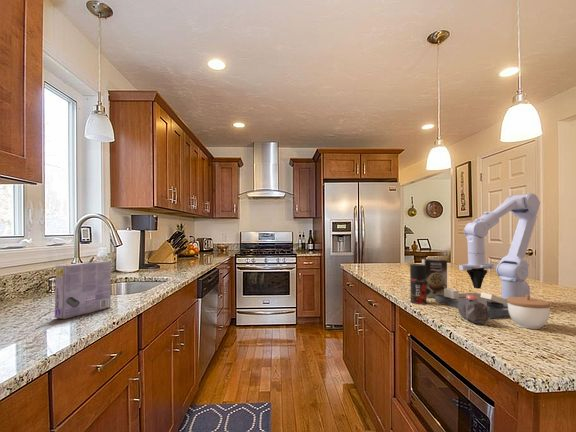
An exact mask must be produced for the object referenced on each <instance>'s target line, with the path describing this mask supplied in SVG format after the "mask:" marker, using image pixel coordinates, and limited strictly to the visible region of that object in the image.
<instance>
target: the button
mask: <svg viewBox="0 0 576 432" xmlns="http://www.w3.org/2000/svg"><path fill="white" fill-rule="evenodd" d="M466 298H469V299H473V300H476V301H478V296H476V295H466Z"/></svg>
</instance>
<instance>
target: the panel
mask: <svg viewBox="0 0 576 432" xmlns="http://www.w3.org/2000/svg"><path fill="white" fill-rule="evenodd" d="M466 295H476V296H478V301H479V302H481V303H482V304H484V305H485V306H486V307H487V309H488V315H489V318H488V320H492V319H493V318H494V319H503V318H511V317H510V315H509V312H508V305H504V304H500V303H496V302H493V301H491V300H488V299H485V298H482V297H480V296H481V293H478V292H466V293H459V299H452V298H449V297H445V296H444V295H435V302H436V303H440V304H443V305H446V306H449V307H452V308H455V309H458V302H459V301H460V300H461V299H464V298H466Z"/></svg>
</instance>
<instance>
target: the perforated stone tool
mask: <svg viewBox="0 0 576 432" xmlns="http://www.w3.org/2000/svg"><path fill="white" fill-rule="evenodd" d="M457 310H458V313H459V314H460V316H462V317H463V318H464V319H465V320H467V321H469V322H472V323H474V324H485V323H487V322H488V321H489V315H488V309H487V307H486V306H485V305H484V304H482V303H481V302H479V301H476V300H473V299H469V298H464V299H461V300H460V301H459V302H458V308H457Z"/></svg>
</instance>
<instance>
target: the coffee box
mask: <svg viewBox="0 0 576 432" xmlns="http://www.w3.org/2000/svg"><path fill="white" fill-rule="evenodd" d="M421 264H423V265H426V298H432V299H434V298H435V295H444V289H446V288H448V261H447V260H446V259H443V258H442V259H440V258H439V259H438V258H437V259H436V258H421Z"/></svg>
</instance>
